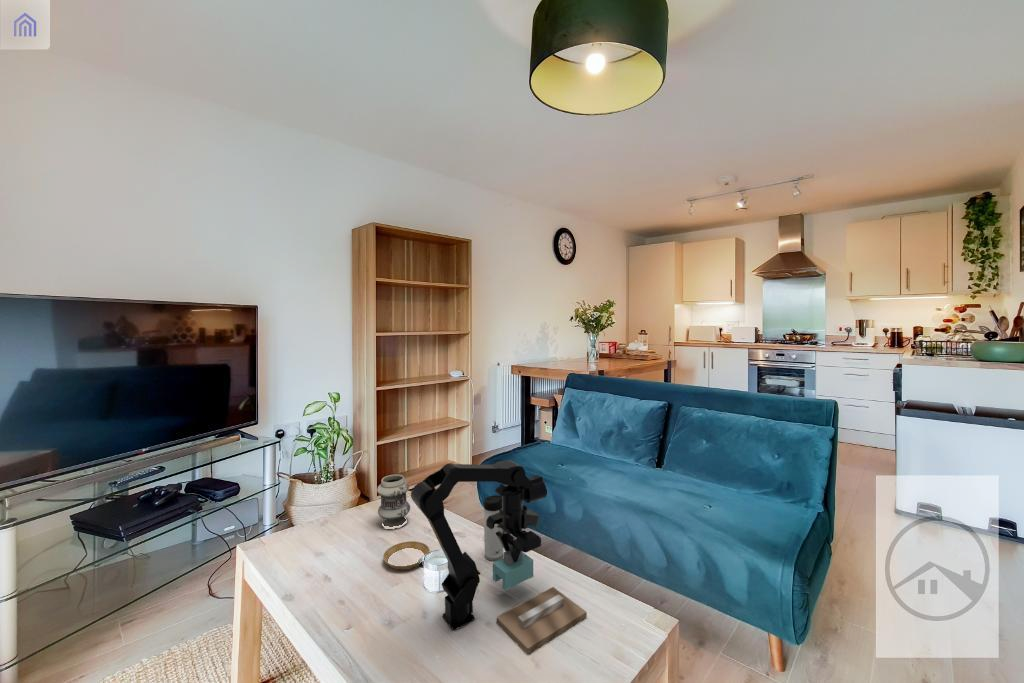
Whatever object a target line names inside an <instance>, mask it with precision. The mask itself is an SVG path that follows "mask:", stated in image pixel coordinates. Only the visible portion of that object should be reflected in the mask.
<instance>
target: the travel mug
mask: <svg viewBox="0 0 1024 683" xmlns="http://www.w3.org/2000/svg"><path fill="white" fill-rule="evenodd" d="M500 509H502V496H500V495H499V494H495V495H494V494H493V495H490V496H487V497H486V498H485V499H484V500H483V523H484V524H483V525H484V526H483V530H484V531H483V532H484V534H483V535H484V536H483V539H484V540H483V541H484V543H483V544H484V558H485V559H486V560H488V561H490V562H495V561H498V560H500V559H502V558H504V548H503V546H502V544H501V542H500V540H499V538H498V537H497V535H496V532H498V528H497V526H498V524H494V528H493V529H490V528H489V527H487V525H486V520H487V518H488V517H489V516H491V515H494V514H496V513H499V510H500Z"/></svg>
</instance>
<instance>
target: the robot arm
mask: <svg viewBox="0 0 1024 683" xmlns="http://www.w3.org/2000/svg"><path fill="white" fill-rule="evenodd" d="M543 479H544V478H543V477H542V475H539V474H537V475H534V476H530V477H527V475H526V470H525V468H524V467H523V466H521V465H520V464H518V463H516V462H514V461H512V460H511V459H506V460H499V461H496V462H494V463H491V464H477V463H476V464H473V463H472V464H471V463H470V464H468V463H467V464H465V463H464V464H462V463H452V462H449V463H446V464H444V465H443V466H442V467H441V468H440V469H438V470H437V471H435V472H432V473H431V474H429V475H427V477H425V478H424V479H423V480H422V481H419V482H418V483H416V484H415V485H414V486H413V488H412V490H411V492H410V498H411V501H413V502H414V504H415V505H416V507H417V508H418V509H419V510H420V511H421V513H422V514H423V515H424V517H425V518H426V519H427V521H428V523H429V525H430V527H431V529H432V531H433V533H434V535H435V538H436V539H437V542H438V544H439V546H440V548H441V550H442V551H443V554H444V556H445V558H446V560H447V570H448V574H447V576H446V577H445V578H444V580H443V581H442V583H441V587H442V590H443V591H445V593H446V596H445V597H444V613H442V618H443V619H444V621H445V622H446V623H447V624H448V625H449V627H450V628H451V629H452V630H457V629H459V628H461V627H463V626H466V625H467V624H469V623H470V622H473V621H475V619H476V618H475V616H474V614H473V612H474V608H473V607H474V603H473V601H474V598H475V594H476V592H477V588H478V586H479V584H480V583H481V582H480V580H481V579H480V576H479V575H481V572H480V571H479V570H478V568H477V564H476V562H475V560H474V559H473V558H472V557H471V556H470V555H469V554H468V553H467V552H466V551H462V550H461V548H460V545H459V544H458V542H457V539H456V537H455V534H454V533H453V531H452V529H451V527H450V524H449V522H448V520H447V518H446V515H445V505H444V501H445V500H446V499H447V498H448V497H449V496H450V494H451V493H452V491H453V489H454V488H455V486H456V485H457V484H458V483H461V482H462V483H464V482H465V483H467V482H468V483H469V482H470V483H471V482H472V483H473V482H474V483H475V482H476V483H477V482H478V483H480V482H481V483H482V482H483V483H484V482H487V483H488V482H489V483H490V482H496V483H499V486H498V487H497V488H495V489H494V492H495V493H496V495H499V496H502V509H500V510H499V513H496V514H494V515H491V516H489V517H488V518H487V520H486V525H487V527H489V528H490V529H493V528H494V524H498V526H497V528H498V532H496V535H497V537H498V538H499V540H500V542H501V544H502V546H503V551H504V552H506V551H509V550H510V552H511V555H512V559H513V562H517V561H518V558H519V555H520V552H521V551H522V552H523V553H528V552H531V551H533V550H535V549H537V548H540V547H541V546H542V537H541V536H540V535H538V534H536V533H535V532H534V531H531V530H529V531H526V529H528V526H531V527H532V526H533V527H535V528H536V527H538V523H539V519H540V514H538V513H537V512H535V511H533V510H531V509H529V508H528V506H527V505H525V504H524V503H523V501H524V502H525V503H526V504H529V503H534V502H536V501H540V500H543V499H545V498H546V497H547V495H548V489H547V486H546V484H545V482H544V480H543ZM437 486H438V487H437ZM436 487H437V488H436Z"/></svg>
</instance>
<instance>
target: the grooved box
mask: <svg viewBox="0 0 1024 683" xmlns="http://www.w3.org/2000/svg"><path fill="white" fill-rule="evenodd" d="M532 578H534V559H533V558H531V557H530V555H529V556H528V555H527V554H526V552H522V551H521V552H520V555H519V558H518V561H517V562H513V559H512V555H511V552H510V550H509V551H506V552H505V551H503V557H502V558H501V559H500V560H497V561H492V581H494V582H495V583H496V582H498V581H500V580H502V589H503V590H504V591H507V590H509V589H512V588H513V587H516V586H518V585H520V584H522V583H524V582H526V581H527V580H530V579H532Z"/></svg>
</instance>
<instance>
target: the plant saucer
mask: <svg viewBox="0 0 1024 683" xmlns="http://www.w3.org/2000/svg"><path fill="white" fill-rule="evenodd" d="M405 548H414V549H418V550H421V551H422V552H423V553H424V555H425V554H428V553H429V554H430V547H429V546H428V545H427V544H426V543H424V542H420V541H416V540H415V541H414V540H412V541H409V540H408V541H403V542H399V543H397V544H394V545H392V546H390V547H389V548H387V549H386V550H385V552H384V553H383V562H385V563H386V565H388V566H389V567H391V568H392V569H395V568H396V569H395V570H398V569H406V570H410V569H409V568H411V569H414V568H417V567H418V566H420V565H419V563H420V561H419V562H417V563H415V564H412V565H407V566H395V565H391V564H389V563H388V559H389V557H390V556H391V555H392V554H393V553H395V552H397V551H399V550H402V549H405ZM429 554H428V555H429ZM413 567H414V568H413Z"/></svg>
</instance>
